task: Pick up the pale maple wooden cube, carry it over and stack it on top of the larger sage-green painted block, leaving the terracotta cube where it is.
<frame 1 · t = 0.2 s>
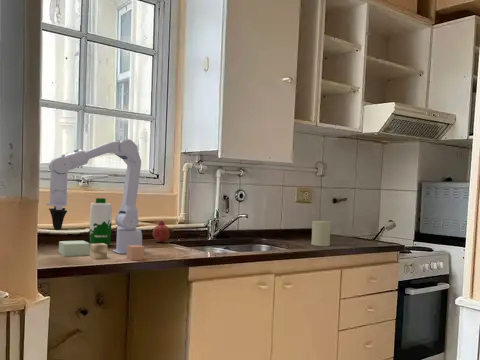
hand: (57, 228, 166), 10 cm above the counter, fingers open, 7 cm apart
milk carton: (99, 245, 196), on the counter
fruit: (160, 242, 214), on the counter
can: (320, 245, 229), on the counter
maple cube: (98, 257, 167), on the counter
terracotta cube: (135, 259, 167), on the counter
sage block: (73, 254, 173), on the counter
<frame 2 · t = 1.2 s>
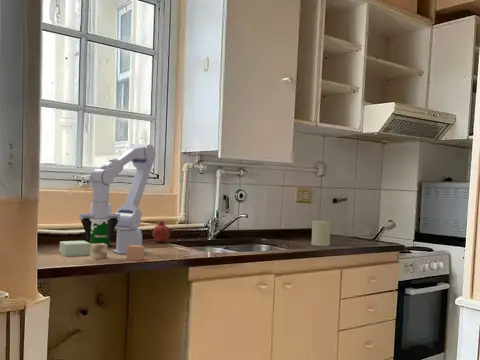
hand: (98, 239, 167), 7 cm above the counter, fingers open, 7 cm apart
nothing on the counter moved.
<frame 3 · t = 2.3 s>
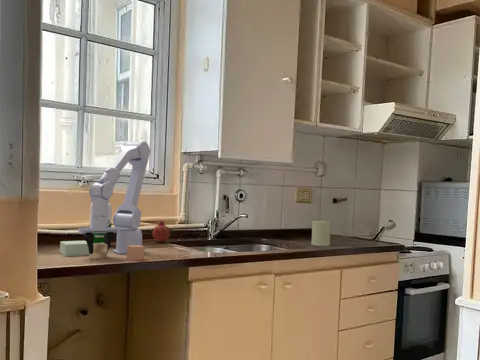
hand: (98, 253, 167), 1 cm above the counter, fingers closed on maple cube, 5 cm apart
maple cube: (98, 257, 167), on the counter, touching gripper
everything else where it was.
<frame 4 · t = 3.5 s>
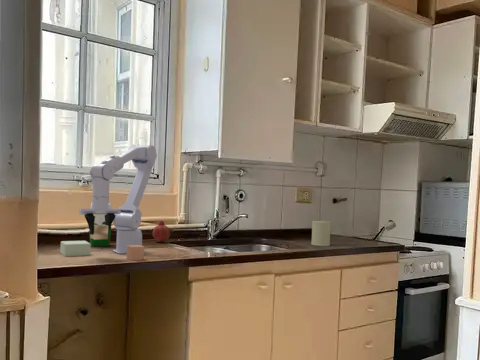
hand: (99, 234, 167), 8 cm above the counter, fingers closed on maple cube, 5 cm apart
maple cube: (99, 238, 167), point 7 cm above the counter, touching gripper
everything else where it was.
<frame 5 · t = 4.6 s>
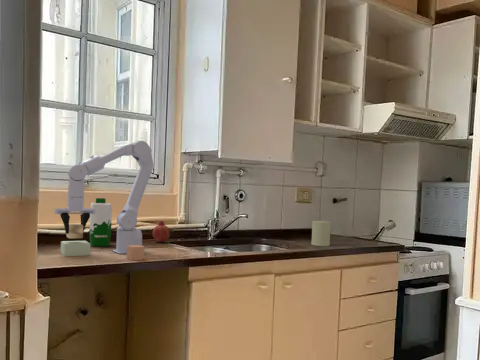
hand: (74, 233, 173), 8 cm above the counter, fingers closed on maple cube, 5 cm apart
maple cube: (74, 237, 173), point 6 cm above the counter, touching gripper
everything else where it was.
when the fingers open (7 cm above the counter, at t = 5.2 s): maple cube drops 1 cm, point 4 cm above the counter.
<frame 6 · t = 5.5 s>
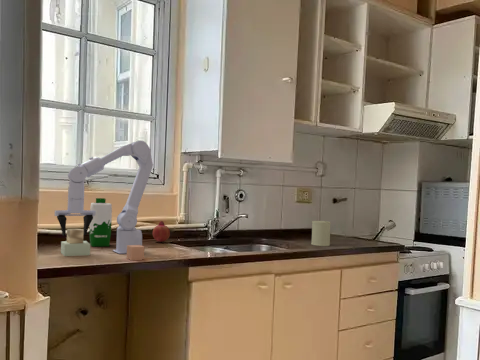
hand: (74, 235, 173), 7 cm above the counter, fingers open, 7 cm apart
maple cube: (74, 242, 173), point 4 cm above the counter
everything else where it was.
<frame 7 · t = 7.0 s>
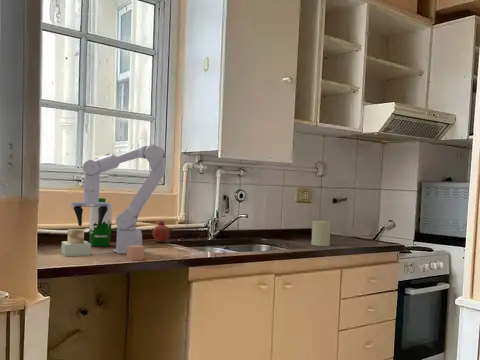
hand: (89, 225, 181), 10 cm above the counter, fingers open, 7 cm apart
maple cube: (75, 242, 173), point 4 cm above the counter, touching sage block
sage block: (75, 254, 173), on the counter, touching maple cube
everything else where it was.
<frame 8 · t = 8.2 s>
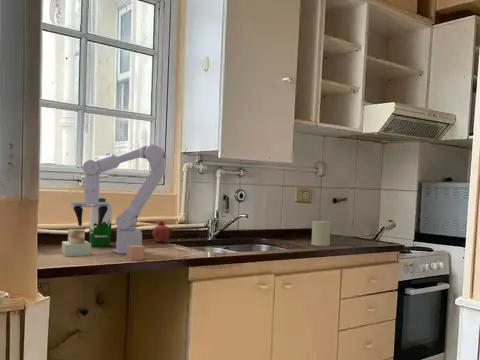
hand: (89, 225, 181), 10 cm above the counter, fingers open, 7 cm apart
nothing on the counter moved.
at the end: maple cube 0.2 cm off-centre on the sage block, point 4.5 cm above the sage block's base; maple cube tilted 0°; terracotta cube moved 0.1 cm from its start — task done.
